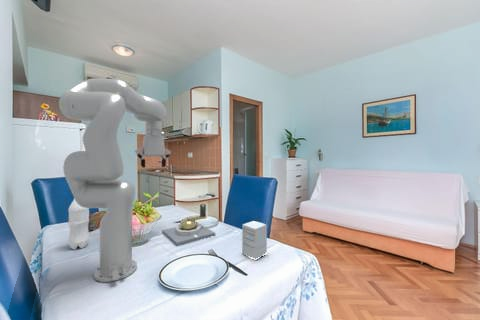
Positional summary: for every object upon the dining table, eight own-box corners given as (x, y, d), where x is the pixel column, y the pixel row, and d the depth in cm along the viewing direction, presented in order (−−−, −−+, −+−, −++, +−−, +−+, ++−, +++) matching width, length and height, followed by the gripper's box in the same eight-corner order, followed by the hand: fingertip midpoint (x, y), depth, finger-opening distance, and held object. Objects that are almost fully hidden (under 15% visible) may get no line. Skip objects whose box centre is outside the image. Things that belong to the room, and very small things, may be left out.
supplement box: (253, 249, 89) (253, 220, 89) (267, 255, 84) (267, 224, 83) (241, 254, 84) (241, 224, 83) (255, 261, 78) (255, 228, 78)
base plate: (215, 235, 103) (215, 228, 103) (176, 246, 91) (176, 238, 91) (197, 225, 119) (197, 219, 119) (162, 232, 107) (162, 226, 107)
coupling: (202, 225, 113) (202, 203, 113) (208, 229, 108) (208, 205, 107) (176, 230, 105) (177, 206, 105) (181, 234, 100) (181, 209, 99)
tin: (90, 232, 107) (90, 216, 107) (84, 232, 107) (84, 216, 107) (108, 223, 122) (108, 209, 122) (103, 223, 122) (103, 209, 122)
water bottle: (67, 247, 89) (67, 189, 89) (87, 242, 95) (87, 188, 94) (70, 252, 85) (69, 191, 84) (91, 246, 90) (90, 189, 89)
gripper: (168, 135, 113) (168, 166, 113) (133, 132, 102) (133, 167, 102) (173, 134, 107) (173, 167, 107) (136, 131, 96) (136, 168, 96)
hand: (153, 167), depth 105 cm, fingers open, 9 cm apart
